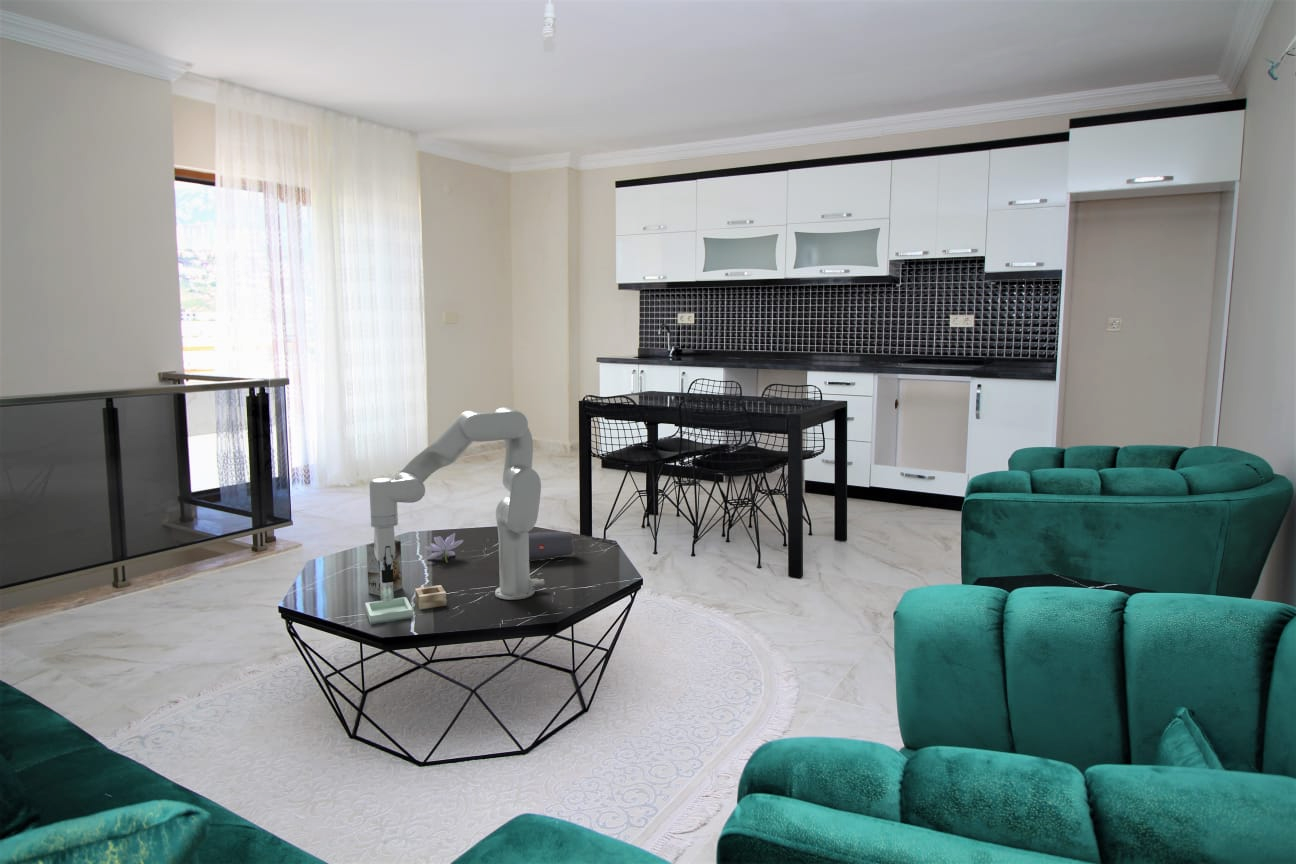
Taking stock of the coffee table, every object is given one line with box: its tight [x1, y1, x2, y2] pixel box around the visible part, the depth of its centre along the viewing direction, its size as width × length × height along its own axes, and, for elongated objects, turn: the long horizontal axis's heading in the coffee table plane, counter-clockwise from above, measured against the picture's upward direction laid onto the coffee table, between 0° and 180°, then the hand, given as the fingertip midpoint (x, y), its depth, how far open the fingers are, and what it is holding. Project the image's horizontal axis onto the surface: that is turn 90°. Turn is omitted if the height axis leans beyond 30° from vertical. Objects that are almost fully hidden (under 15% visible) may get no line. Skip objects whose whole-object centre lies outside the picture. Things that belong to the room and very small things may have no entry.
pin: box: [380, 560, 394, 602], centre depth 234 cm, size 4×4×12 cm
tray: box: [364, 596, 414, 625], centre depth 236 cm, size 12×12×2 cm
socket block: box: [414, 584, 447, 610], centre depth 245 cm, size 8×8×4 cm
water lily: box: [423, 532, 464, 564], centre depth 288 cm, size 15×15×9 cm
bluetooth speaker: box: [528, 531, 574, 561], centre depth 290 cm, size 23×9×10 cm, turn 104°
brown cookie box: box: [366, 539, 403, 597], centre depth 255 cm, size 9×6×16 cm
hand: (386, 579), depth 234 cm, fingers closed on pin, 3 cm apart
